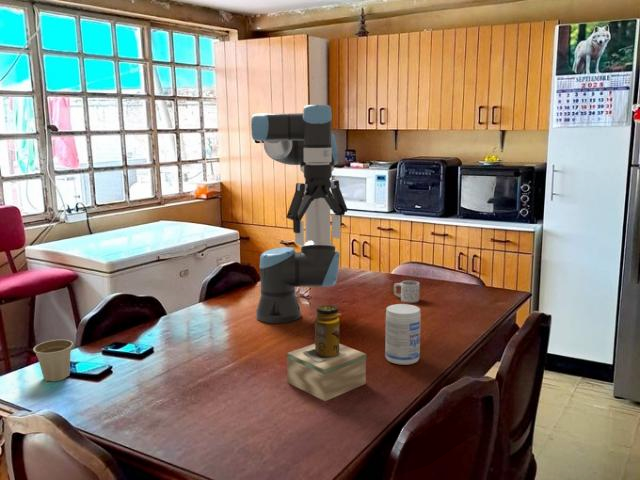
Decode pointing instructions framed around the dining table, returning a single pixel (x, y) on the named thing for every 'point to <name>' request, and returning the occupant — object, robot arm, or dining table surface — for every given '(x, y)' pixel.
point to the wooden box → (326, 372)
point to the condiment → (326, 334)
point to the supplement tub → (402, 334)
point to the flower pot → (54, 359)
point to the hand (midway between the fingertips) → (318, 241)
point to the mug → (408, 291)
